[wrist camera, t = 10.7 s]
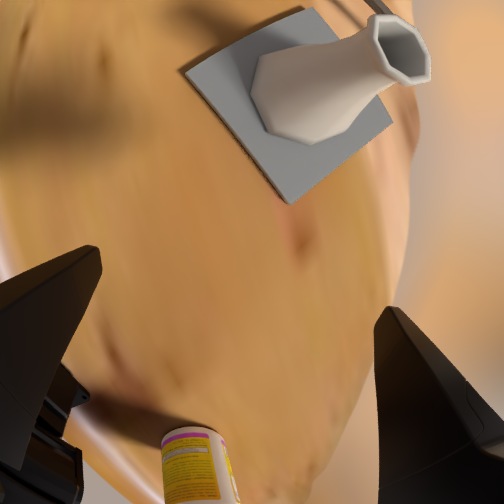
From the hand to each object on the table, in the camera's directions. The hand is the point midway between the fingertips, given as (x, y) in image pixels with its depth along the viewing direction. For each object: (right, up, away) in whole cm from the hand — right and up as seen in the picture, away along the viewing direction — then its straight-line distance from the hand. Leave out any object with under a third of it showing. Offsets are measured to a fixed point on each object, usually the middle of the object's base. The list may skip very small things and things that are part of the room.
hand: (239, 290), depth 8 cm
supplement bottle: (-6, -18, +16) cm, 25 cm away
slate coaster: (+4, +12, +9) cm, 15 cm away
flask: (+4, +12, +9) cm, 15 cm away
